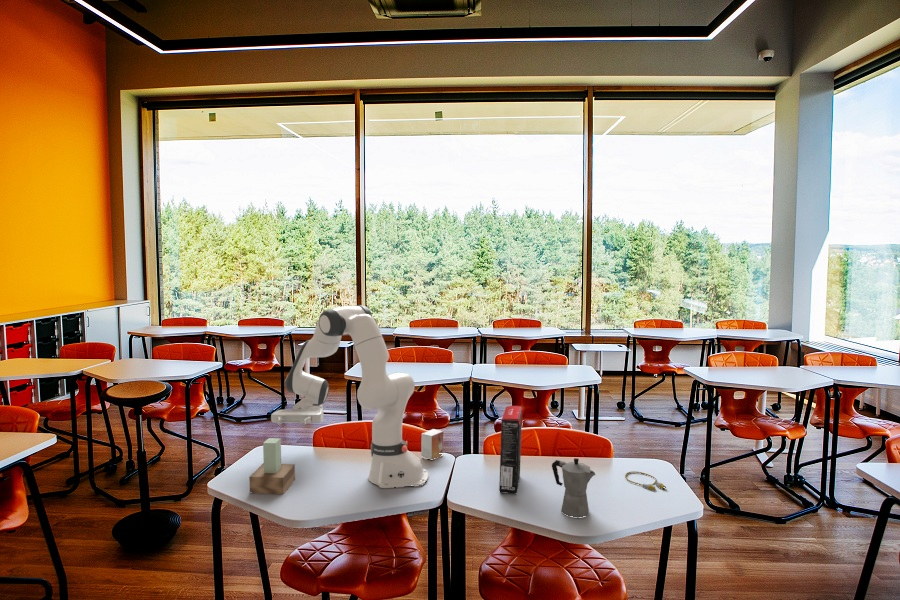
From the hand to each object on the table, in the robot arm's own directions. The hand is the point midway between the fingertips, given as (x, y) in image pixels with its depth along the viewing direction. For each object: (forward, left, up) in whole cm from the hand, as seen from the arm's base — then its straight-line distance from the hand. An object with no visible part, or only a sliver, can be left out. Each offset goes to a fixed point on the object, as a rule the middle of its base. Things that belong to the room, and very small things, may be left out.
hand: (291, 422), depth 209 cm
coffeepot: (-104, +28, -19) cm, 109 cm away
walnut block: (+1, +16, -19) cm, 24 cm away
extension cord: (-134, +3, -19) cm, 135 cm away
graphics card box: (-85, +9, -19) cm, 87 cm away
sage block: (+1, +16, -13) cm, 20 cm away
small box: (-54, -16, -19) cm, 59 cm away
